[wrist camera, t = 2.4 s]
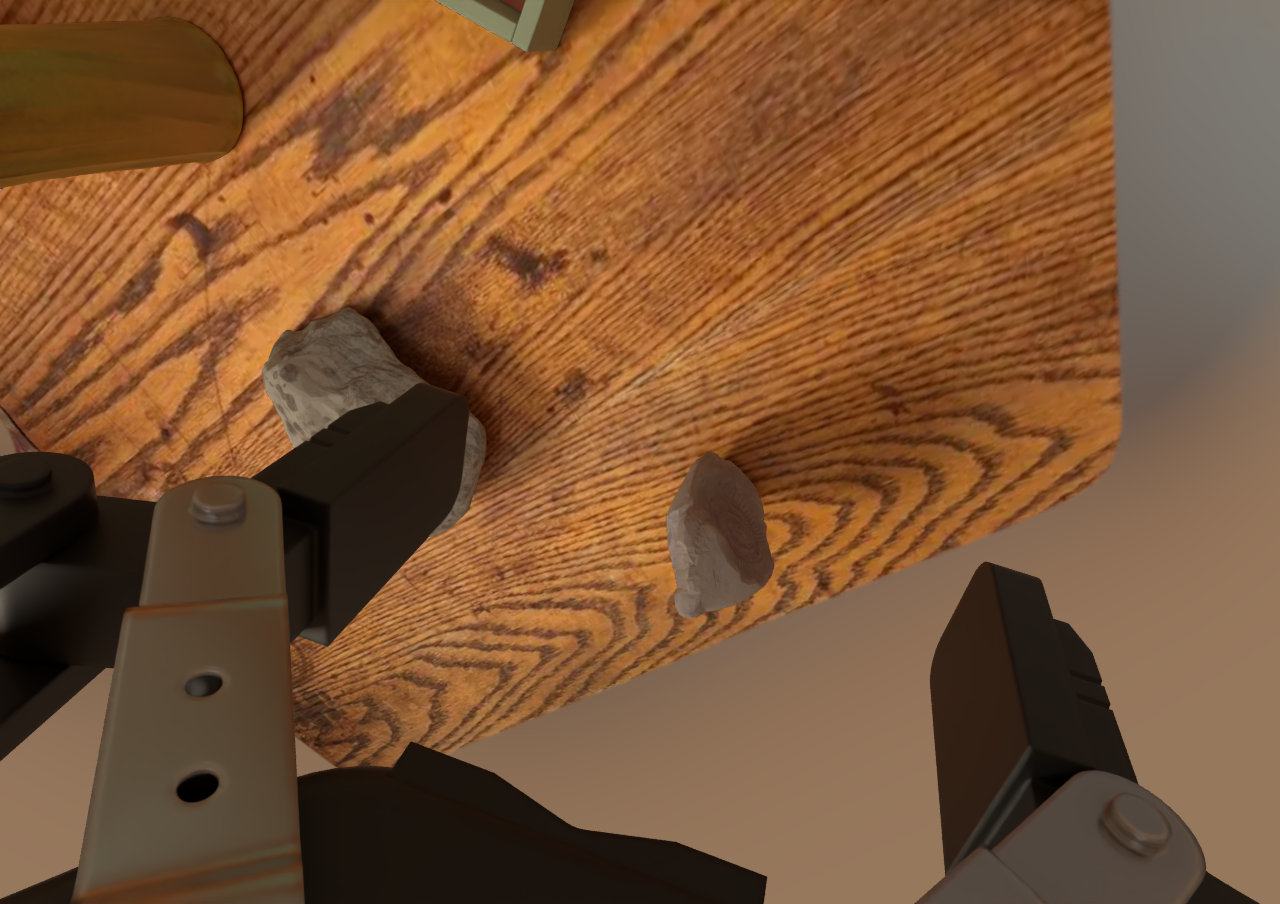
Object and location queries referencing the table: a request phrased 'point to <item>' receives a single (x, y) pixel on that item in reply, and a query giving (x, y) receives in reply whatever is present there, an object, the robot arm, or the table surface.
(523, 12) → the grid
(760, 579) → the grey brown rock
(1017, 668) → the robot arm
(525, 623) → the table surface
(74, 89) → the vase
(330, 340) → the decorative stone
